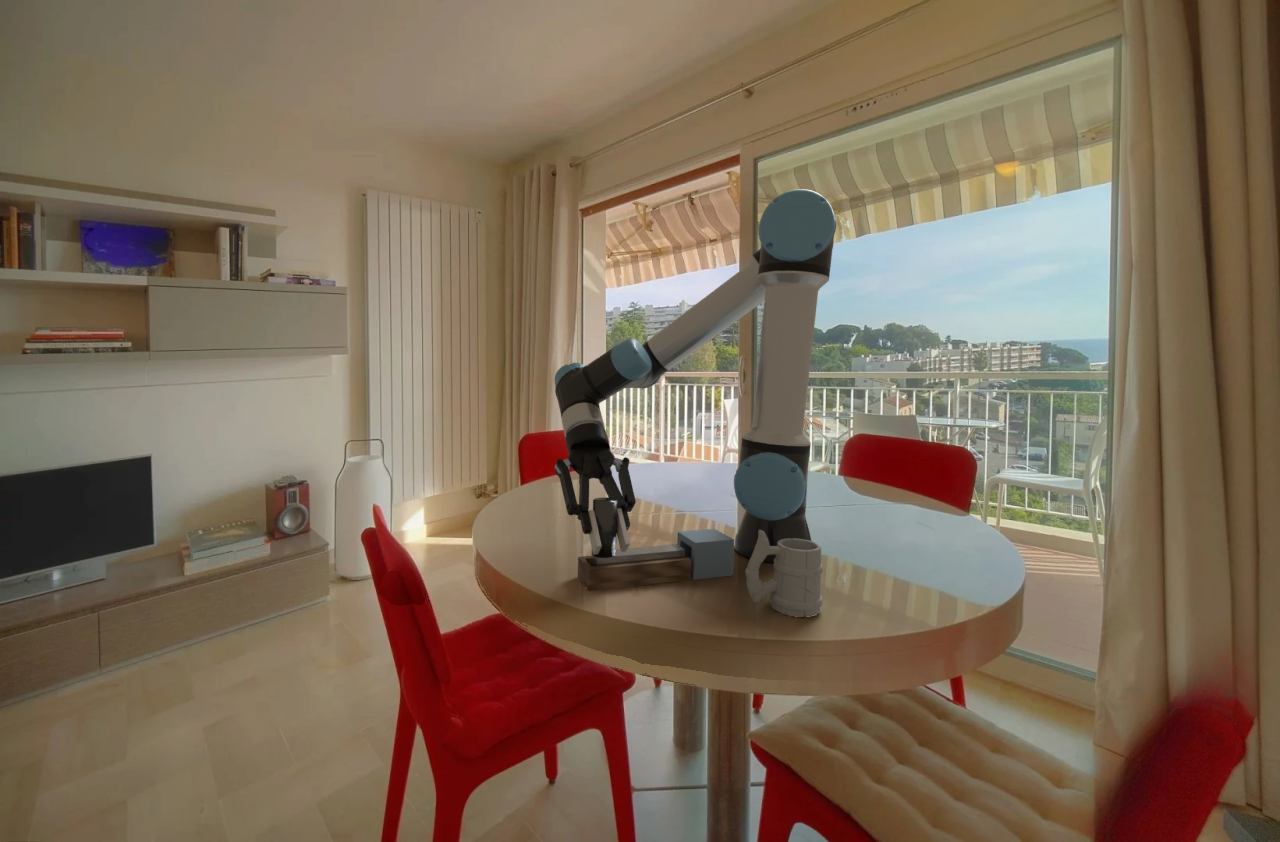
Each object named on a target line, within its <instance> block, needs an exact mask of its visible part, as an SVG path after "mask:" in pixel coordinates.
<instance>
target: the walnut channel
mask: <svg viewBox="0 0 1280 842" xmlns="http://www.w3.org/2000/svg"><path fill="white" fill-rule="evenodd" d="M577 578H578V579H580V580H579V581H580V582H581V584H582V583H583V584H582V585H583V587H584V588H585V587H586V588H587V589H586V588H585V589H586V591H587V592H591V591H592V592H593V591H594V592H595V591H601V590H609V589H617V588H618V589H619V588H626V587H627V588H628V587H636V586H637V587H638V586H646V585H652V584H653V585H654V584H663V583H670V582H679V581H688V580H689V581H690V580H691V579H692V578H691V559H690V558H689V557H684V558H674V559H664V560H654V561H643V562H633V563H623V564H613V565H602V566H591V555H586V556H585V555H583V556H577Z"/></svg>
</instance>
